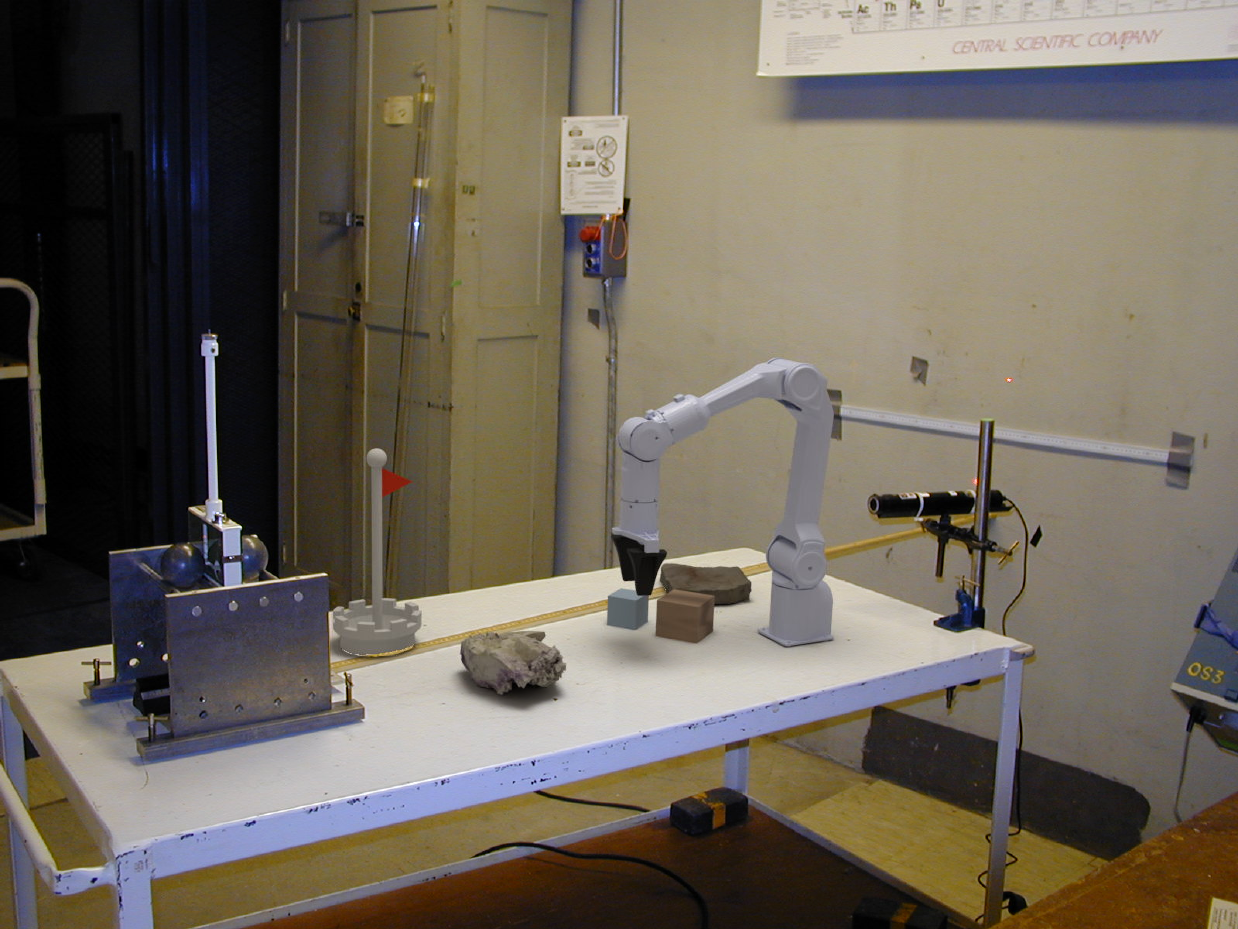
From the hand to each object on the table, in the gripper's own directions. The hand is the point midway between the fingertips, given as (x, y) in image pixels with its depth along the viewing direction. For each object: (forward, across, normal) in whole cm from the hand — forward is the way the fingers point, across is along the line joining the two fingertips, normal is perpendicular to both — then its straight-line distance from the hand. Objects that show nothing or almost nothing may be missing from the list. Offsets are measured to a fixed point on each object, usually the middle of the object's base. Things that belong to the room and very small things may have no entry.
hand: (636, 587), depth 179 cm
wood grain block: (+10, -6, +10) cm, 16 cm away
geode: (+10, +10, -20) cm, 25 cm away
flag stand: (+10, -9, -38) cm, 40 cm away
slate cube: (+10, -13, +2) cm, 17 cm away
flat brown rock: (+10, -27, +21) cm, 36 cm away
